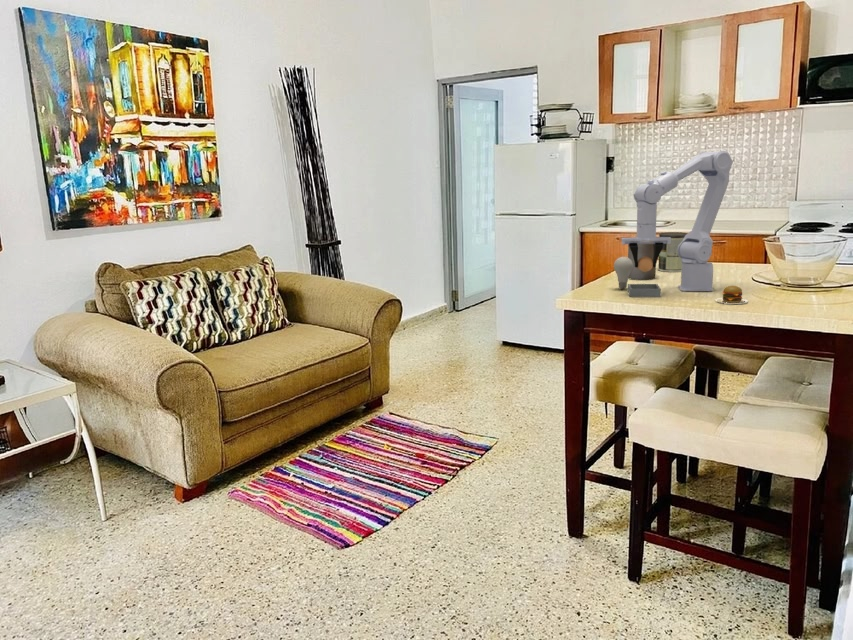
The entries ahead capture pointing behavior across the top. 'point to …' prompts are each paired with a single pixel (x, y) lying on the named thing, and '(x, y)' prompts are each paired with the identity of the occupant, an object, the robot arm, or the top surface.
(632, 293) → the gray square tray
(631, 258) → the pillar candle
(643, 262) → the ball
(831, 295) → the top surface
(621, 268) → the lightbulb
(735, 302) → the hamburger
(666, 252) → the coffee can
